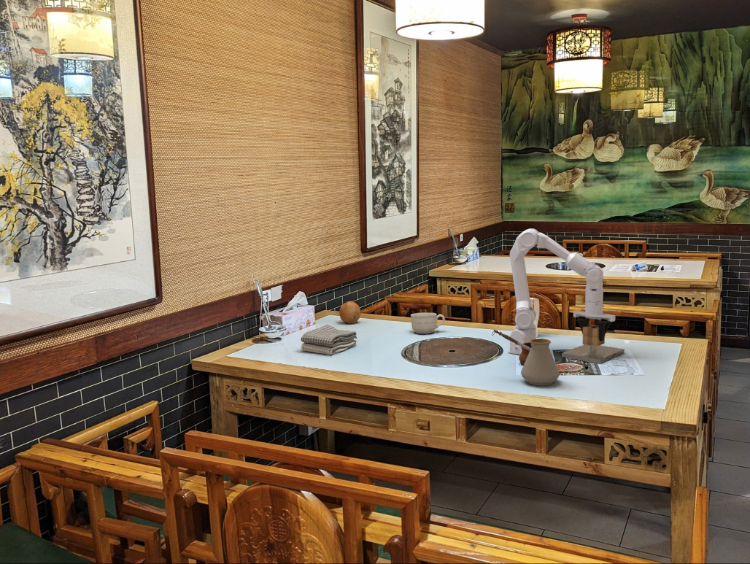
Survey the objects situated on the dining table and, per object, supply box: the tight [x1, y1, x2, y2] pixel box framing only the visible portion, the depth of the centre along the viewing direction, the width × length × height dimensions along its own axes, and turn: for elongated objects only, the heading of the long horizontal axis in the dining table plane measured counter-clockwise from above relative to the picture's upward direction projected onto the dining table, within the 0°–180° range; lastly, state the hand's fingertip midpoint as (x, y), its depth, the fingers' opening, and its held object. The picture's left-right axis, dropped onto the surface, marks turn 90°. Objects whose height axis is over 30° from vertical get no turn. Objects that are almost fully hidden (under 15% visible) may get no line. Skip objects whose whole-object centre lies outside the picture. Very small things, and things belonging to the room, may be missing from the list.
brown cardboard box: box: [582, 324, 606, 346], centre depth 233 cm, size 5×5×6 cm
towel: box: [300, 324, 358, 356], centre depth 256 cm, size 15×18×8 cm
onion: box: [338, 300, 362, 324], centre depth 303 cm, size 10×10×10 cm
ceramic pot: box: [518, 342, 560, 366], centre depth 225 cm, size 18×18×7 cm
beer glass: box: [530, 297, 540, 339], centre depth 265 cm, size 7×7×15 cm
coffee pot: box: [491, 329, 560, 387], centre depth 207 cm, size 21×12×15 cm, turn 56°
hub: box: [561, 344, 625, 365], centre depth 234 cm, size 18×14×6 cm
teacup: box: [410, 312, 446, 335], centre depth 278 cm, size 14×11×8 cm
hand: (593, 339), depth 233 cm, fingers closed on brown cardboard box, 5 cm apart
